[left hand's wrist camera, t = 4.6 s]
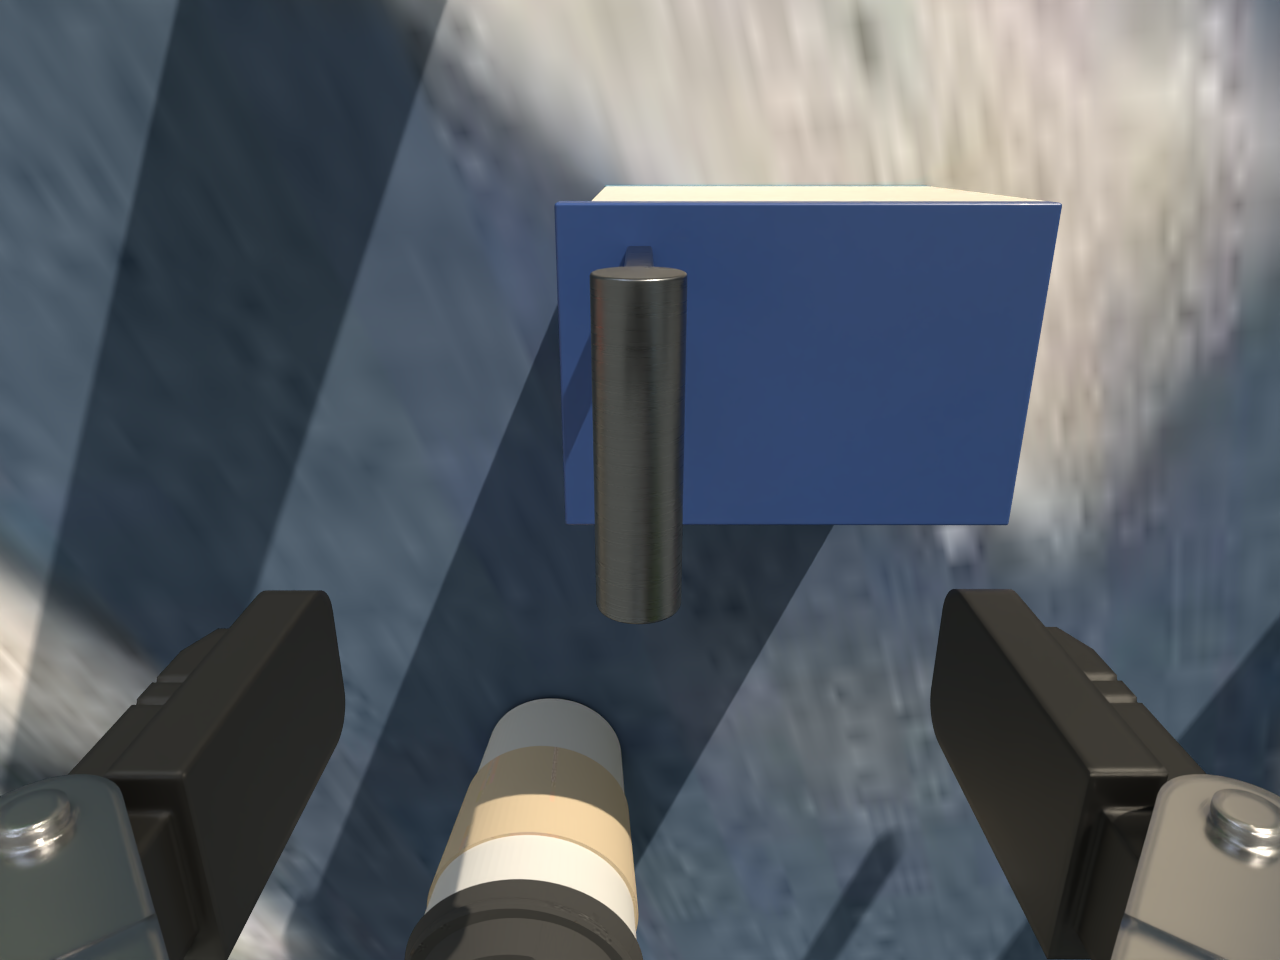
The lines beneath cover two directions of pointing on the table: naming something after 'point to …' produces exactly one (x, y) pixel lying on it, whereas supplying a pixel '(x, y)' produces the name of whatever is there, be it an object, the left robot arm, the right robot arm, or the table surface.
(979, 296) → the lid
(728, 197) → the chest
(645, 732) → the table surface
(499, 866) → the coffee cup
